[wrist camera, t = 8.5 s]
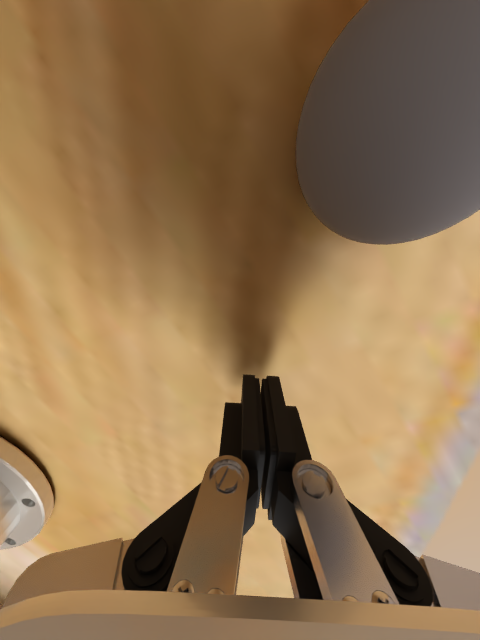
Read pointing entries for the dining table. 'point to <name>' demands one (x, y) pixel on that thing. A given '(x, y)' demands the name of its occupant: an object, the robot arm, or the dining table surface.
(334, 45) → the grey rounded piece
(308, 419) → the dining table surface
